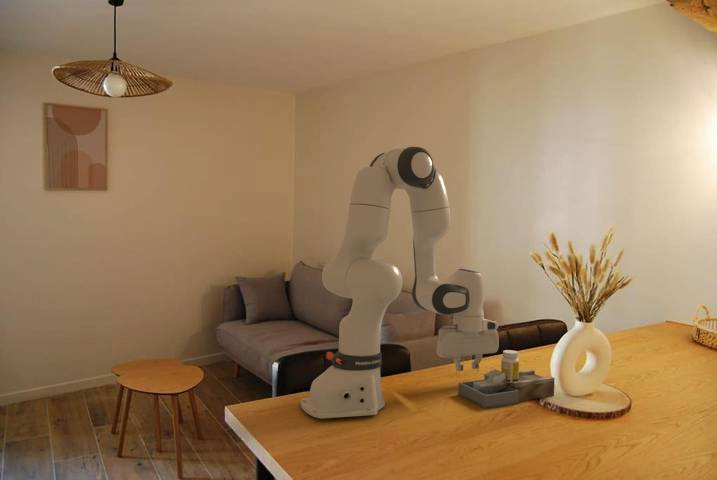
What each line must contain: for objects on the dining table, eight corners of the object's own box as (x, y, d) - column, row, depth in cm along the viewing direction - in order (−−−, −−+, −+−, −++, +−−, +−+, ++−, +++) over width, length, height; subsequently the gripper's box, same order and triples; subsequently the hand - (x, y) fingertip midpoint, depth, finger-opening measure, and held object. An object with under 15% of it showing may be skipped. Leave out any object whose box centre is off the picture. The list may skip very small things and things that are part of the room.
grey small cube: (495, 391, 147) (493, 378, 146) (486, 387, 150) (483, 374, 150) (507, 386, 148) (504, 373, 148) (497, 382, 152) (495, 369, 151)
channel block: (514, 401, 146) (515, 383, 146) (493, 391, 154) (493, 374, 154) (554, 395, 152) (554, 377, 152) (531, 386, 160) (531, 369, 160)
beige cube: (494, 399, 147) (482, 401, 145) (484, 394, 150) (473, 396, 148) (494, 384, 146) (482, 386, 145) (485, 380, 150) (473, 382, 148)
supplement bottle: (517, 379, 153) (518, 350, 153) (519, 384, 148) (520, 354, 148) (499, 378, 154) (500, 349, 154) (501, 383, 149) (502, 353, 149)
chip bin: (485, 408, 140) (485, 395, 140) (458, 394, 151) (458, 382, 151) (518, 403, 145) (518, 390, 145) (490, 390, 156) (490, 378, 156)
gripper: (445, 328, 153) (443, 376, 154) (502, 323, 162) (501, 369, 162) (432, 324, 159) (431, 370, 159) (489, 319, 167) (487, 363, 168)
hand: (467, 369), depth 161 cm, fingers open, 4 cm apart
